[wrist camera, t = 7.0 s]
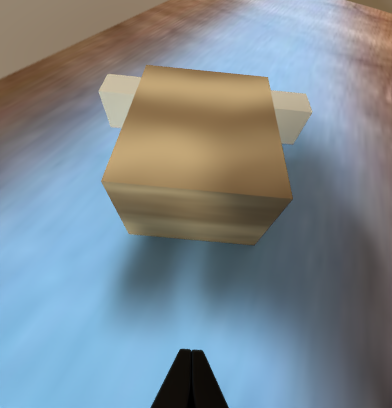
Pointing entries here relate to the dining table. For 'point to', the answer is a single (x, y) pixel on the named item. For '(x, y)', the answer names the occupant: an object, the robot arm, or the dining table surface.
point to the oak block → (199, 158)
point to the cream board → (283, 101)
